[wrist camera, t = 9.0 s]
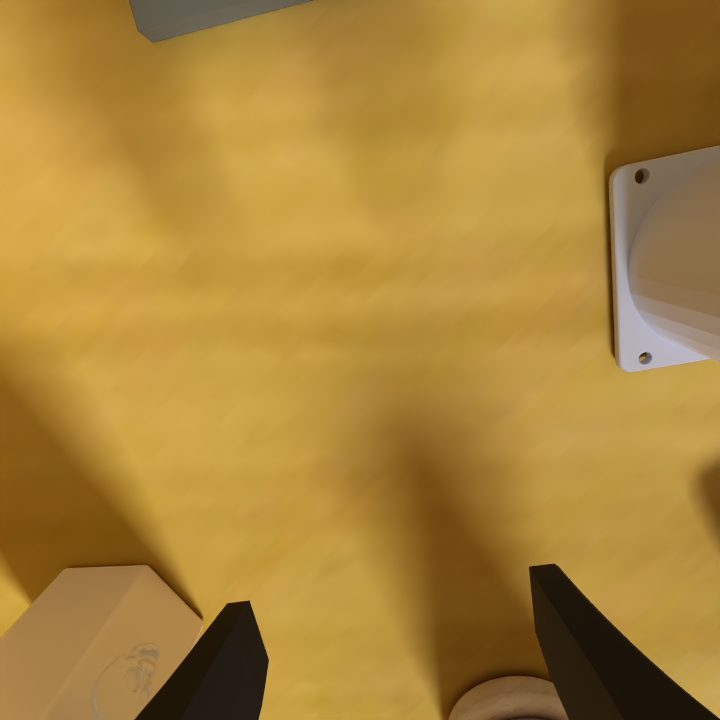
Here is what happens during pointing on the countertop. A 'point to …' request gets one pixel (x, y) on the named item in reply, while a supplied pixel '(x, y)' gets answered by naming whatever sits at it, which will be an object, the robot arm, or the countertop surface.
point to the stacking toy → (510, 701)
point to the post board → (195, 14)
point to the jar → (94, 646)
